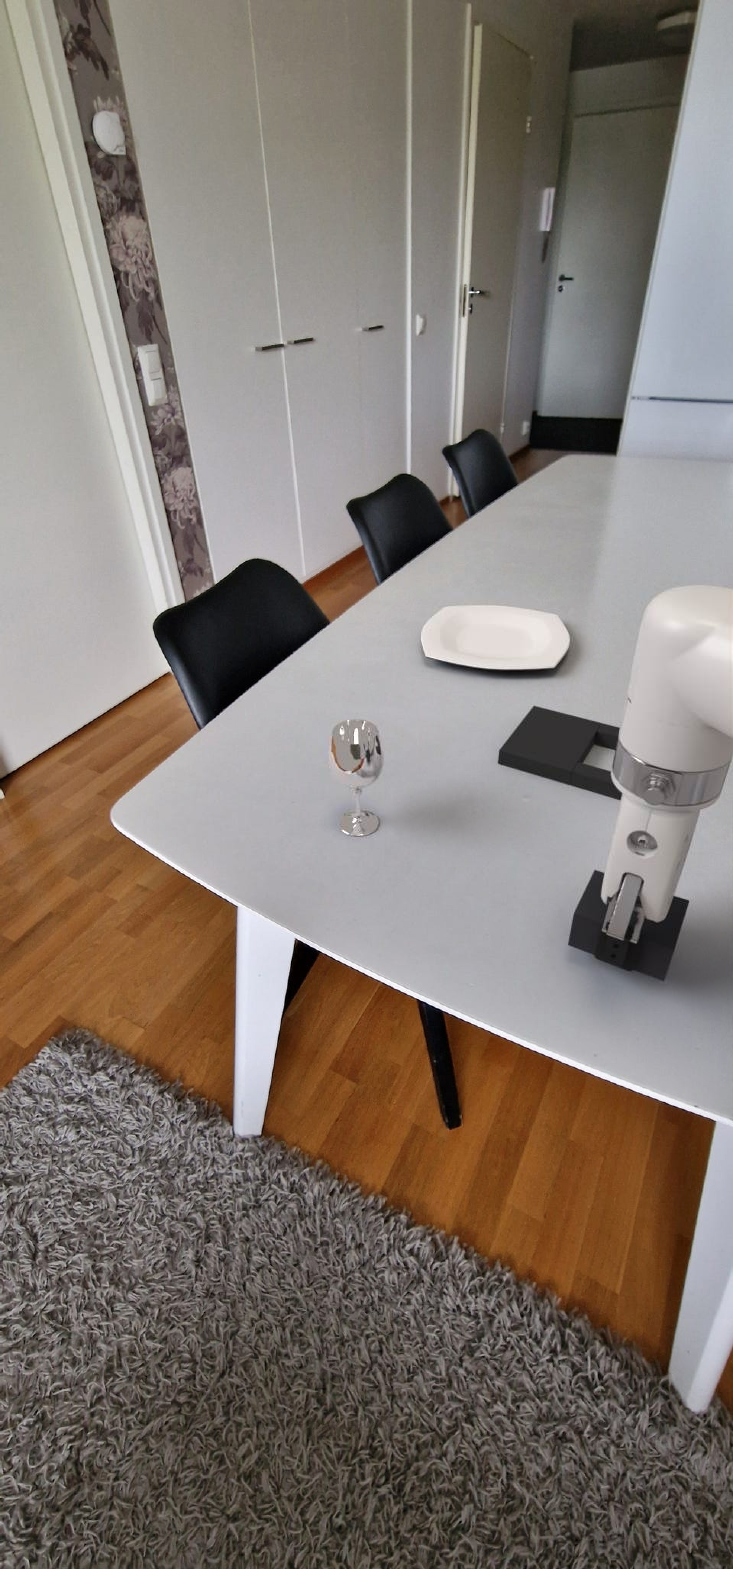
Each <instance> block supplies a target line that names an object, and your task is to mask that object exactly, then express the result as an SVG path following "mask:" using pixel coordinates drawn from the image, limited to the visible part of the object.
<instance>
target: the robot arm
mask: <svg viewBox="0 0 733 1569" xmlns="http://www.w3.org/2000/svg"><path fill="white" fill-rule="evenodd" d="M630 671H631V672H630V676H629V681H628V685H627V690H626V696H625V700H624V705H623V711H622V715H621V721H620V725H619V728H620V730H619V735H618V740H617V745H616V750H614V755H613V760H612V764H611V769H610V771H611V778H612V781H613V783H614V785H615V786H616V787H617V789H618V790H619V791H620V792H622V797H621V800H619V801H620V802H619V806H618V809H617V814H616V818H615V823H614V827H613V831H612V835H611V836H612V837H611V840H610V845H609V850H608V855H607V859H606V863H605V869H604V873H605V874H604V879H603V885H602V891H601V898H602V900H603V902H604V903H605V904H606V905H607V903H609V906H608V910H607V913H606V917H605V920H604V921H603V922H602V924H601V928H600V933H599V937H598V942H597V946H596V950H595V955H594V958H595V959H596V960H598V961H601V962H603V963H606V964H609V965H611V966H614V967H616V968H618V969H619V968H620V969H622V970H624V971H626V972H633V971H635V970H634V967H635V964H636V960H637V957H638V953H639V950H640V946H641V943H642V939H643V936H644V935H641V934H640V933H641V930H642V926H643V923H644V920H645V917H646V919H649V920H653V921H655V922H660V921H662V920H664V919H665V918H666V916H667V913H668V910H669V908H670V905H671V902H672V899H673V896H675V893H676V890H677V887H678V885H679V881H680V879H681V876H682V872H683V869H684V867H685V863H686V860H687V856H688V853H689V850H690V847H691V845H692V841H693V838H694V834H695V832H696V827H697V824H698V821H699V817H700V813H701V810H705V809H707V808H709V807H711V806H712V805H714V804H715V803H716V802H717V801H718V800H719V799H720V797H721V794H722V791H723V787H724V784H725V781H726V778H727V775H728V772H729V768H730V766H731V763H732V759H733V588H730V587H725V586H718V585H712V584H711V585H710V584H690V585H681V586H676V587H675V586H674V587H671V588H669V589H666V590H663V592H660V593H658V594H657V595H655V596H654V597H653V598H652V599H651V600H650V602H648V604H647V606H646V607H645V610H644V612H643V614H642V618H641V622H640V627H639V630H638V636H637V641H636V646H635V650H634V656H633V660H632V666H631V670H630ZM619 890H621V891H620V894H619ZM638 896H640V900H641V902H639V901H637V898H638ZM633 912H634V913H637V914H638V916H637V919H636V923H635V926H634V927H633V926H631V925H629V923H630V920H631V917H632V913H633Z"/></svg>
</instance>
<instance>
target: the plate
mask: <svg viewBox="0 0 733 1569" xmlns="http://www.w3.org/2000/svg"><path fill="white" fill-rule="evenodd" d="M420 642H421V646H422V650H423V652H424V655H425V658H426V659H430V660H434V661H438V662H442V663H447V664H451V665H457V666H462V667H467V668H471V669H472V668H474V669H480V670H487V671H488V670H489V671H536V670H538V671H539V670H553V669H555V668H556V666H557V665H558V664H559V663H560V662H561V660H562V659H563V658H564V657H565V655H566V654H567V651H568V650H569V648H570V644H571V637H570V633H569V631H568V629H567V627H566V626H565V624H564V622H563V621H562V620H561V619H560V617H559V616H558V615H557V614H555V613H550V612H545V611H540V610H536V609H535V610H534V609H529V608H523V607H515V606H508V605H497V604H496V605H495V604H494V605H491V604H490V605H489V604H487V605H486V604H476V605H475V604H474V605H473V604H472V605H452V606H451V605H450V606H443V607H442V608H441V609H440V610H438V612H436V613H435V614H434V615H433V616H431V617H430V618H429V619H428V620H427V621H426V622H425V624H424V625H423V627H422V628H421V633H420Z"/></svg>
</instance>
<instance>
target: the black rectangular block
mask: <svg viewBox="0 0 733 1569" xmlns="http://www.w3.org/2000/svg"><path fill="white" fill-rule="evenodd" d="M604 874H605V872H603V871H601V870H597V869H594V870H593V872H592V875H591V877H590V878H589V881H588V882H587V884H586V887H585V889H584V891H583V893H582V894H581V897H580V899H579V902H578V903H577V906H576V908H575V910H574V912H573V915H572V916H573V917H572V920H571V926H570V930H569V937H568V942H567V946H570V947H572V948H575V949H576V950H580V951H583V952H585V953H587V954H591V955H592V956H595V950H596V946H597V942H598V937H599V933H600V928H601V924H602V922H603V921H604V920H605V917H606V913H607V910H608V906H609V903H607V905H606V904H605V903H604V902H603V900H602V898H601V891H602V885H603V879H604ZM620 891H621V890H619V894H620ZM637 901H639V902H641V900H640V896H638V898H637ZM689 904H690V900H689V899H686V898H682V897H680V896H676V895H674V896H673V899H672V902H671V905H670V908H669V910H668V913H667V916H666V918H665V919H664V920H662V921H660V922H655V921H653V920H649V919H646V917H645V920H644V923H643V926H642V930H641V933H640V934H641V935H644V936H643V939H642V943H641V946H640V950H639V953H638V957H637V960H636V964H635V967H634V970H633V971H634V972H638V973H640V974H643V975H645V976H647V977H651V978H654V979H656V980H659V981H661V982H665V980H666V977H667V974H668V971H669V968H670V964H671V961H672V958H673V955H674V952H675V950H676V945H677V943H678V939H679V936H680V933H681V930H682V927H683V923H684V921H685V917H686V913H687V911H688V908H689ZM637 916H638V914H637V913H634V912H633V913H632V917H631V920H630V923H629V925H631V926H633V927H634V926H635V923H636V919H637Z"/></svg>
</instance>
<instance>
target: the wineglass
mask: <svg viewBox="0 0 733 1569" xmlns="http://www.w3.org/2000/svg"><path fill="white" fill-rule="evenodd" d="M327 763H328V767H329V772H330V774H331V776H332V777H333V779H334V780H335V781H336V782H337V783H338V784H340V785H342V786H343V787H345V788H349V789H350V788H351V789H352V795H353V797H354V801H355V809H353V810H349V811H347V812H345V813H343V814H342V815H341V816H340V818H339V820H338V823H337V824H338V828H339V829H340V831H341V832H343V833H344V834H346V835H348V836H351V837H364V836H368V835H370V834H372V833H374V832H375V831H376V830H377V829H378V827H379V825H380V824H379V823H380V821H379V818H378V817H377V815H376V814H375V813H374V812H371V811H369V810H366V809H361V796H362V792H363V788H366V787H369V786H371V785H373V784H374V783H376V782H377V781H378V779H379V778H380V776H381V775H382V773H383V769H384V764H385V754H384V746H383V742H382V739H381V735H380V731H379V729H378V726H377V725H376V724H374V723H373V722H371V721H368V720H365V719H356V718H355V719H346V720H344V721H341V722H339V723H337V724H335V725H334V727H333V728H332V731H331V734H330V739H329V743H328V750H327Z"/></svg>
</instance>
